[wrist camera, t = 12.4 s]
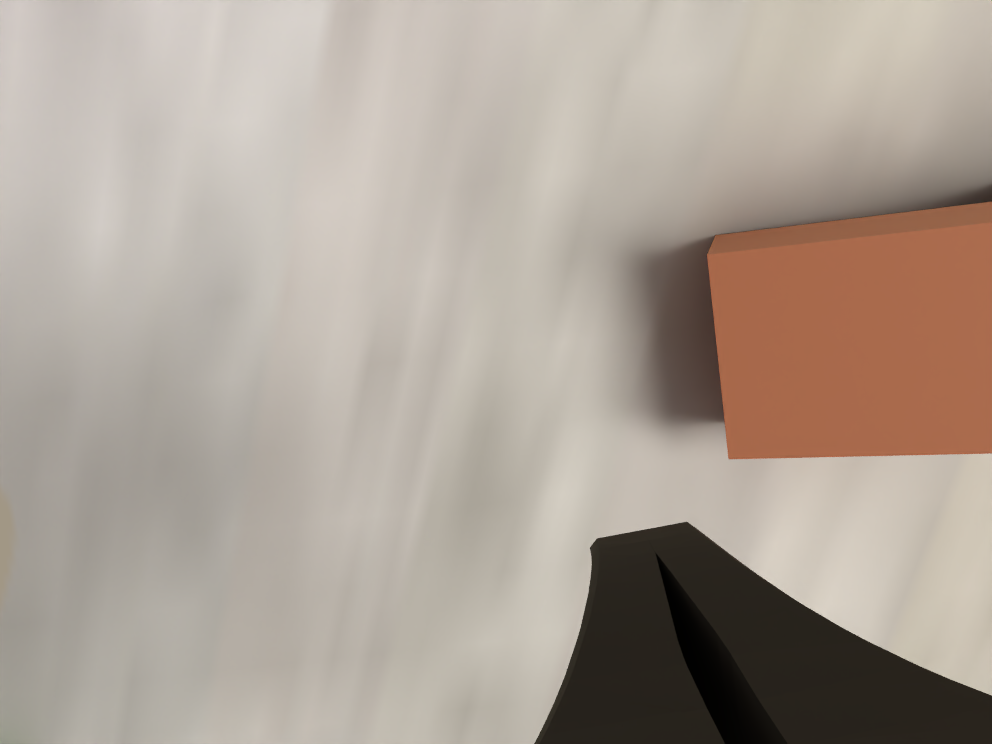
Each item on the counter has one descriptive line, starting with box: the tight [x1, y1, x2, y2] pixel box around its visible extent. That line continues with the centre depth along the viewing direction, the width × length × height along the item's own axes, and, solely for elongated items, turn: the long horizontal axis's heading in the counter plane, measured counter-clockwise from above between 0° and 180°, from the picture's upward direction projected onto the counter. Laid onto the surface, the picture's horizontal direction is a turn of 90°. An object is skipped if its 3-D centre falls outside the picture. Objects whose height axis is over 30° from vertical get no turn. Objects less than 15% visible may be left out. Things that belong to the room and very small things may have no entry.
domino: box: [707, 202, 992, 459], centre depth 18 cm, size 2×5×9 cm
